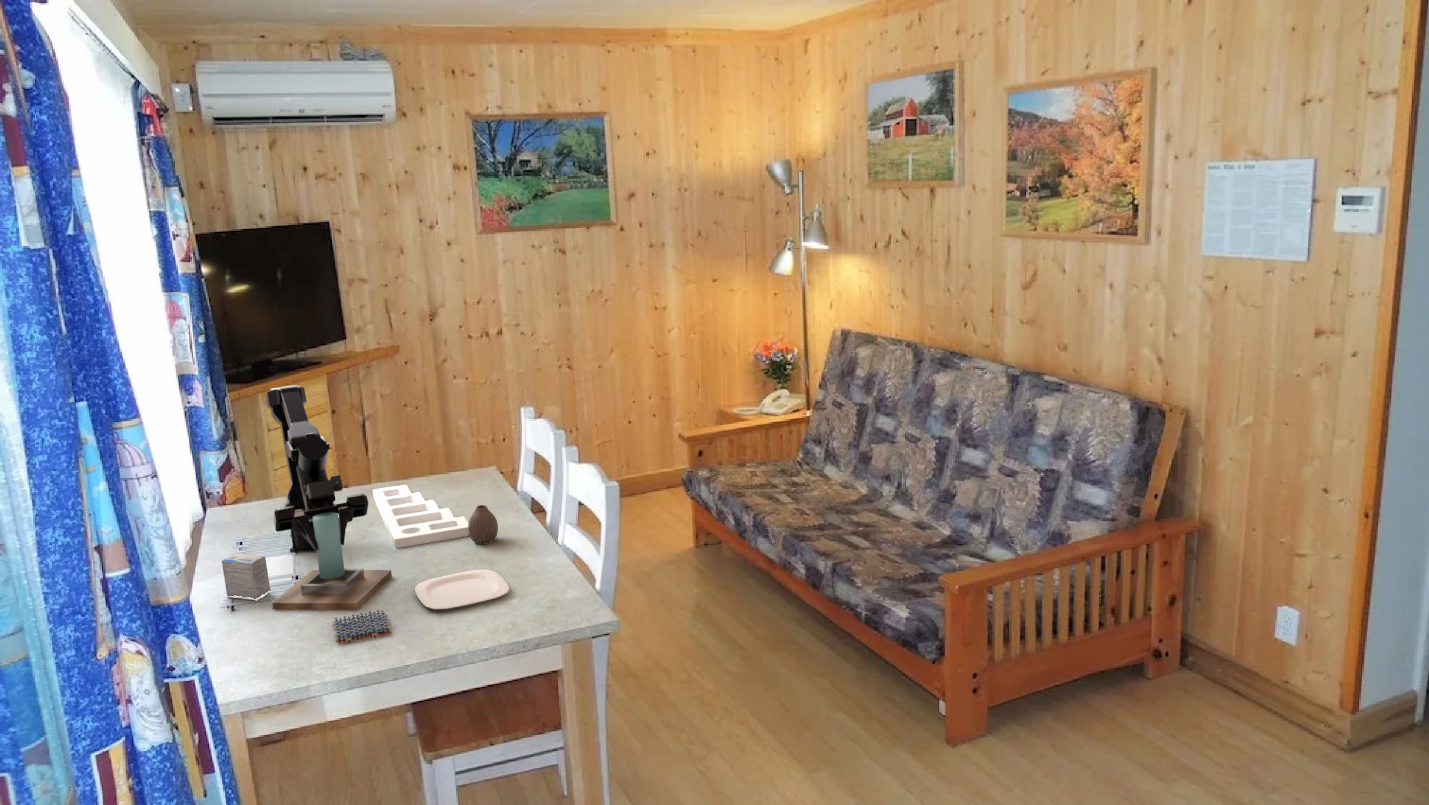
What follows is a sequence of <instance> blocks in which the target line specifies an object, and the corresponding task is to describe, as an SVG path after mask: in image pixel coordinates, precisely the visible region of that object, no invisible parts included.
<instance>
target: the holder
mask: <svg viewBox="0 0 1429 805" xmlns="http://www.w3.org/2000/svg"><path fill="white" fill-rule="evenodd" d="M372 494H373V499H374V502H375V504H376V508H377V509H378V511H379V514H380V516H381V517H382V518H381V519H382V520H383V523H384V525H385V528H386V530H387V532H388V535H389V536H390V539H391V541H392V544H393V546H394V548H395V549H399V548H403V547H404V548H405V547H409V546H416V545H422V544H428V543H434V542H435V543H436V542H439V541H444V540H445V541H446V540H451V539H450V538H452V539H458V538H462V537H461V536H464V537H466V536H465V535H469V530H468V524H469V521H468V520H467V519H466V518H465V516H454V515H453V513H452V512H451V510H450V509H449V508H448V507H444V508H439V507H438V505H437V503H436V501H435V500H434V499H430V500H429V499H428V500H425V499H424V497H423V496H422V494H421V492H419V491H417V492H411V490H410V489H409V487H408V485H407V484H401V485H396V486H388V487H381V488H375V489H372Z"/></svg>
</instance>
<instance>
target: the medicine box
mask: <svg viewBox="0 0 1429 805" xmlns="http://www.w3.org/2000/svg"><path fill="white" fill-rule="evenodd" d="M221 565H222V570H223V572H222V573H223V576H224V578H223V579H224V584H225V591H226V597H227V596H234V595H236V596H242V597H251V598H254V599H256V598H258V597H260V596H261V595H262V594H265V593H266V592H268V591H271V586H270V579H269V578H270V577H269V572H268V566H267V559H266V556H264V555H258V554H250V553H249V554H247V553H234V554H232V555H230V556H228V557H225V558H223V560H221ZM271 592H272V591H271Z"/></svg>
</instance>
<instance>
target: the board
mask: <svg viewBox="0 0 1429 805" xmlns="http://www.w3.org/2000/svg"><path fill="white" fill-rule="evenodd" d="M344 571H345V574H344V575H343V576H341V577H338V578H334V579H322V578H320V574H319V569H312V570H311V571H310V572H309V573H307V574H305V575H304V576H303V577H302V578H300V580H299V581H297V582H296V583H295V584H293V585H292V586H291V587H290V588H289V589H287V590H286V591H285V592H283V594H281V595H280V596H279V597H277V598H276V599H274V601H272V602H271V605H272V610H273V609H276V610H275V611H279V610H280V611H281V610H282V611H284V610H285V611H358V610H359V609H360V608H361V607H363V605H364V604H365V603H367V601H368V600H370V599H371V598H372V597H373V596H374V594H376V593H377V591H379V590H380V589H381V588H382V587H383V586H384V585H385V584H386V583H387V582H388V581H389V580H390V579H391V578H392V574H393V573H392V569H364V568H344Z"/></svg>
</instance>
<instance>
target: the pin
mask: <svg viewBox="0 0 1429 805" xmlns="http://www.w3.org/2000/svg"><path fill="white" fill-rule="evenodd" d="M338 518H339V515H338V513H332V512H329V513H321V514H318V515H315V516H314V517H313V526H314V534H315V540H316V543H317V548H318V549H317V551H316V556H317V564H318V570H319V574H320V578H322V579H334V578H338V577H341V576H343V575H344V574H345V571H344V569H345V563H344V562H345V561H344V556H343V554H344V553H343V546H342V544H341V537H340V528H339V520H338Z"/></svg>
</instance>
